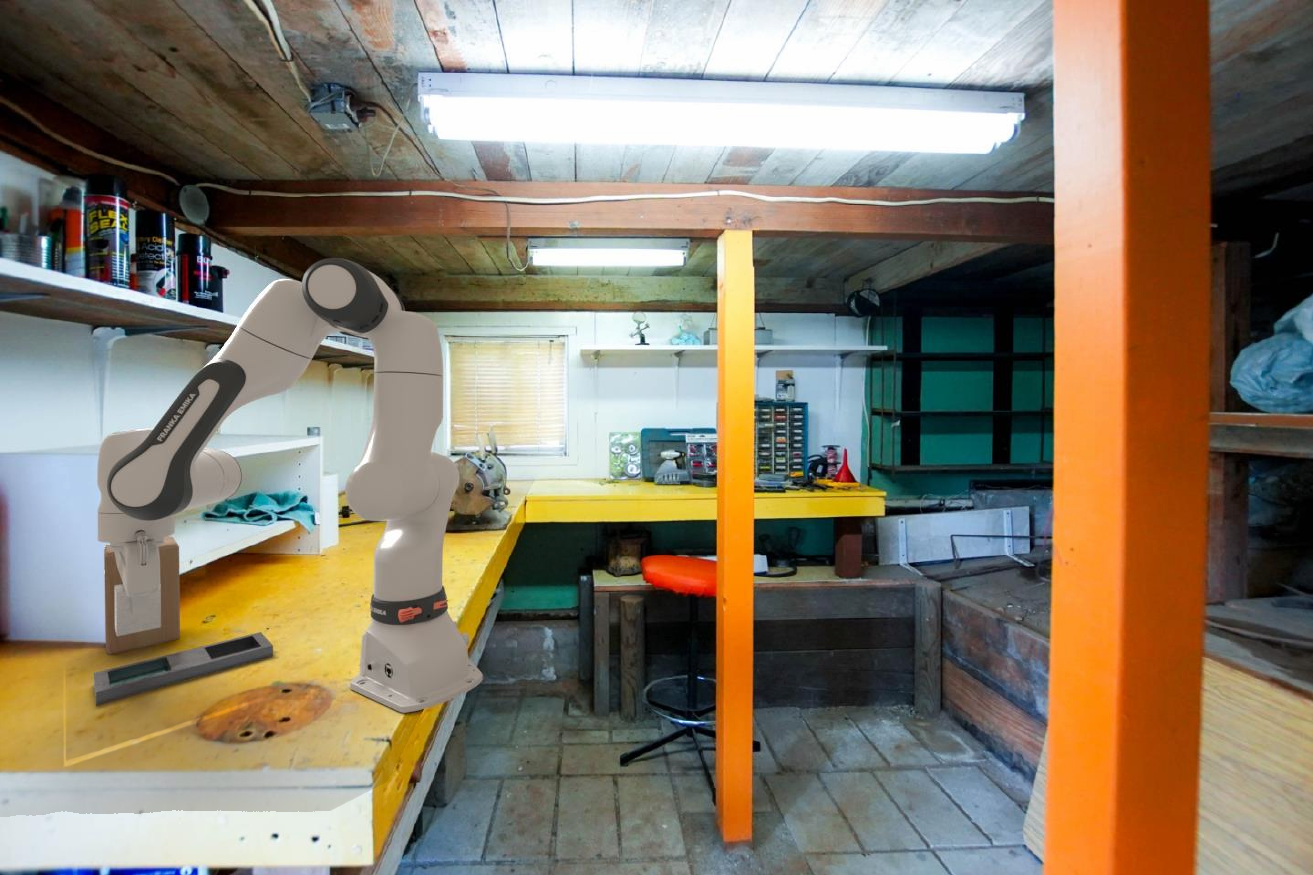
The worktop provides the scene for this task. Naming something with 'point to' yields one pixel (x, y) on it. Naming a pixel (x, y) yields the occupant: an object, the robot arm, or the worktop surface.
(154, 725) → the worktop surface
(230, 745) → the worktop surface
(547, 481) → the worktop surface
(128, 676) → the gray slotted tray
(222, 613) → the worktop surface
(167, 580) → the wooden block
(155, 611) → the white upright block
